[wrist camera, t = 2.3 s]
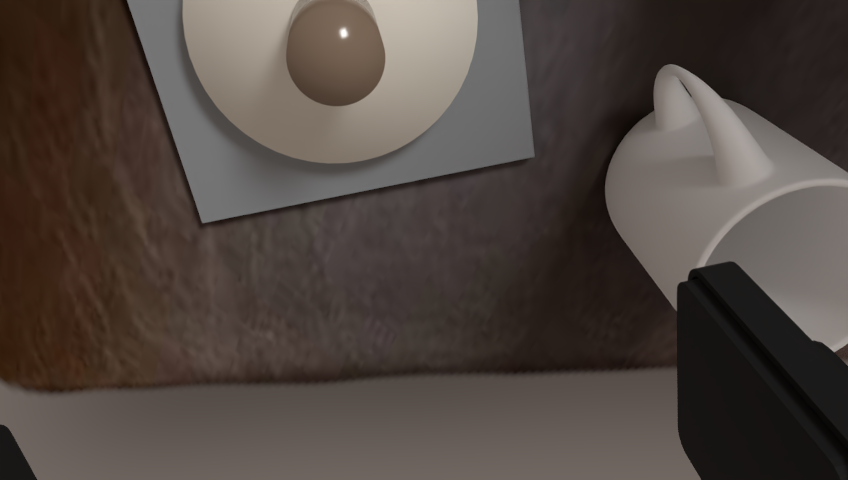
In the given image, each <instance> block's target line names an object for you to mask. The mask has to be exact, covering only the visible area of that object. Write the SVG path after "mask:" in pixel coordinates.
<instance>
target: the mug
mask: <svg viewBox="0 0 848 480" xmlns="http://www.w3.org/2000/svg"><path fill="white" fill-rule="evenodd" d="M680 80H681V82H682V83H683V84H684V85H685V87H686V88H687V90H688V91H689V93H690V94H691V96H692V97H690V95H689V94H688V92H687V91H686V89H685V88H684V86H683V85H682V83H681V82H680ZM653 95H654V111H653V112H651V113H650V114H648V115H647V116H646V117H644V118H643V119H641V120H640V121H639V122H638V123H637V124H636V125H635V126H634V127H633V128H632V129H631V130H630V131H629V132H628V133H627V134H626V135H625V137H624V138H623V140H622V141H621V142H620V144H619V146H618V147H617V149H616V151H615V153H614V155H613V157H612V159H611V162H610V164H609V168H608V171H607V175H606V182H605V199H606V205H607V209H608V212H609V215H610V218H611V220H612V222H613V224H614V226H615V228H616V230H617V232H618V233H619V234H620V236H621V237H622V239H623V240H624V241H625V243H626V244H627V245H628V247H629V248H630V250H631V251H632V252H633V254H634V255H635V256H636V258H637V259H638V260H639V262H640V263H641V264H642V266H643V267H644V268H645V270H646V271H647V272H648V274H649V275H650V276H651V278H652V279H653V280H654V282H655V283H656V284H657V286H658V287H659V288H660V290H661V291H662V292H663V294H664V295H665V297H666V298H667V299H668V301H669V302H670V303H671V305H672V306H673V307H674V309H675V310H676V311H677V286H678V284H679V283H680V282H684V281H688V275H689V272H690V271H691V270H692V269H695V268H700V267H705V266H709V265H714V264H719V263H724V262H728V261H732V262H735V263H736V264H737V265H739V266H740V267H741V268H742V269H743V270H744V271H745V272H746V273H747V274H748V275H749V277H750V278H751V279H752V280H753V281H754V282H755V283H756V284H757V285H758V286H759V287H760V288H761V289H762V290H763V291H764V292H765V293H766V294H767V295H768V296H769V297H770V298H771V299H772V300H773V301H774V302H775V303H776V304H777V305H778V306H779V307H780V308H781V309H782V310H783V311H784V312H785V313H786V314H787V315H788V316H789V317H790V318H791V319H792V320H793V321H794V322H795V323H796V324H797V325H798V326H799V328H800V329H801V330H802V331H803V332H804V333H805V334H806V335H807V336H808V337H809V338H810V339H811V340H812V341H813V340H815V341H818V342H822V343H823V344H825V345H826V346H827V347H829V348H830V349H831V350H832V351H833V352H835V351H837V350H839V349H840V348H842V347H843V346H845V345H846V344H848V172H846V171H844V170H843V169H841V168H840V167H838V166H837V165H835V164H834V163H832V162H831V161H829V160H828V159H826V158H824V157H823V156H821V155H820V154H818V153H817V152H815V151H814V150H812V149H811V148H809V147H808V146H806V145H804V144H803V143H801V142H800V141H798V140H797V139H795V138H794V137H792V136H791V135H789V134H788V133H786V132H784V131H783V130H781V129H780V128H778V127H777V126H775V125H774V124H772V123H771V122H769V121H768V120H766V119H764V118H763V117H761V116H760V115H758V114H757V113H755V112H753V111H752V110H750V109H748V108H747V107H745V106H743V105H741V104H738V103H736V102H734V101H731V100H727V99H723V98H721V97H720V96H719V95H718V94H717V93H716V92H715V91H714V90H713V89H712V88H710V87H709V86H708V85H707V84H706V83H705V82H703V81H702V80H701V79H699V78H698V77H697V76H695V75H694V74H692V73H690V72H689V71H687V70H685V69H683V68H681V67H679V66H677V65H673V64H669V65H665V66H664V67H662V68H661V69H660V71H659V72H658V74H657V76H656V79H655V84H654V93H653Z"/></svg>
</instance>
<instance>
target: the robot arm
mask: <svg viewBox="0 0 848 480" xmlns="http://www.w3.org/2000/svg"><path fill="white" fill-rule="evenodd" d="M677 375H678V376H677V378H678V380H677V381H678V382H677V383H678V432H679V437H680V440H681V444H682V446H683V449H684V451H685V453H686V454H687V456H688V458H689V460H690V461H691V463H692V465H693V466H694V468H695V470H696V471H697V473H698V475H699V476H700V478H701V480H848V366H847V365H846V364H845V363H844V362H843V361H842V360H841V359H840V358H839V357H838V356H837V355H836V354H835V353H834V352H833V351H832V350H831V349H830V348H829V347H827V346H826V345H825V344H823V343H822V342H818V341H815V340H813V341H812V340H811V339H810V338H809V337H808V336H807V335H806V334H805V333H804V332H803V331H802V330H801V329H800V328H799V326H798V325H797V324H796V323H795V322H794V321H793V320H792V319H791V318H790V317H789V316H788V315H787V314H786V313H785V312H784V311H783V310H782V309H781V308H780V307H779V306H778V305H777V304H776V303H775V302H774V301H773V300H772V299H771V298H770V297H769V296H768V295H767V294H766V293H765V292H764V291H763V290H762V289H761V288H760V287H759V286H758V285H757V284H756V283H755V282H754V281H753V280H752V279H751V278H750V277H749V275H748V274H747V273H746V272H745V271H744V270H743V269H742V268H741V267H740V266H739V265H737V264H736V263H735V262H732V261H728V262H724V263H719V264H714V265H709V266H705V267H700V268H695V269H692V270H691V271H690V272H689V275H688V281H684V282H680V283H679V284H678V286H677ZM0 480H37V479H36V477H35V475H34V473H33V472H32V470H31V468H30V466H29V464H28V462H27V461H26V459H25V457H24V455H23V453H22V451H21V450H20V448H19V446H18V444H17V442H16V441H15V439H14V437H13V435H12V433H11V432H10V430H9V429H8V428H7V427H6V426H4V425H0Z"/></svg>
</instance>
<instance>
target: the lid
mask: <svg viewBox="0 0 848 480" xmlns="http://www.w3.org/2000/svg"><path fill="white" fill-rule="evenodd" d="M182 17H183V26H184V35H185V40H186V44H187V48H188V52H189V56H190V59H191V61H192V64H193V67H194V69H195V72H196V74H197V76H198V78H199V80H200V82H201V84H202V85H203V87H204V89H205V91H206V92H207V94H208V95H209V97H210V98H211V99H212V101H213V102H214V104H215V105H216V106H217V108H218V109H219V110H220V111H221V112H222V113H223V114H224V115H225V116H226V117H227V119H228V120H229V121H230V122H232V123H233V124H234V125H235V126H236V127H237V128H239V129H240V130H241V131H242V132H243V133H245V134H246V135H248V136H249V137H251V138H252V139H254V140H255V141H257V142H258V143H260V144H262V145H264V146H266V147H268V148H270V149H272V150H274V151H276V152H278V153H281V154H284V155H287V156H290V157H292V158H297V159H301V160H305V161H310V162H318V163H351V162H358V161H364V160H368V159H372V158H375V157H379V156H382V155H384V154H387V153H389V152H392V151H394V150H397V149H399V148H400V147H402V146H404V145H406V144H408V143H409V142H411V141H413V140H414V139H415V138H417V137H418V136H419V135H421V134H422V133H424V132H425V131H426V130H427V129H428V128H429V127H430V126H432V125H433V124H434V123H435V122H436V121H437V120H438V119H439V118H440V117H441V115H442V114H443V113H444V112H445V111H446V109H447V108H448V107H449V106H450V104H451V103H452V101H453V100H454V98H455V97H456V95H457V93H458V92H459V90H460V88H461V86H462V84H463V82H464V80H465V78H466V75H467V73H468V70H469V67H470V64H471V61H472V58H473V54H474V49H475V44H476V39H477V25H478V13H477V0H183V16H182Z"/></svg>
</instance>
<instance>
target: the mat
mask: <svg viewBox="0 0 848 480" xmlns="http://www.w3.org/2000/svg"><path fill="white" fill-rule="evenodd" d="M127 2H128V5H129V8H130V11H131V14H132V16H133V19H134V22H135V25H136V28H137V31H138V34H139V37H140V40H141V43H142V46H143V49H144V52H145V55H146V58H147V61H148V64H149V67H150V70H151V73H152V76H153V79H154V82H155V85H156V88H157V90H158V93H159V96H160V99H161V102H162V105H163V108H164V111H165V114H166V117H167V120H168V123H169V126H170V129H171V132H172V135H173V138H174V141H175V144H176V147H177V150H178V153H179V156H180V159H181V162H182V165H183V167H184V170H185V173H186V176H187V179H188V182H189V185H190V188H191V191H192V194H193V197H194V200H195V203H196V206H197V209H198V212H199V215H200V218H201V221H202V223H206V222H211V221H216V220H221V219H226V218H231V217H236V216H241V215H246V214H251V213H256V212H261V211H266V210H271V209H276V208H281V207H286V206H291V205H296V204H301V203H306V202H311V201H316V200H321V199H326V198H331V197H336V196H341V195H346V194H351V193H356V192H361V191H366V190H371V189H376V188H381V187H386V186H391V185H396V184H401V183H406V182H411V181H416V180H421V179H426V178H431V177H436V176H441V175H446V174H451V173H456V172H461V171H466V170H471V169H476V168H481V167H486V166H491V165H496V164H501V163H506V162H511V161H516V160H521V159H526V158H531V157H535V155H534V145H533V135H532V126H531V116H530V106H529V96H528V86H527V76H526V66H525V56H524V46H523V36H522V26H521V16H520V6H519V0H477V13H478V25H477V39H476V44H475V49H474V54H473V58H472V61H471V64H470V67H469V70H468V73H467V75H466V78H465V80H464V82H463V84H462V86H461V88H460V90H459V92H458V93H457V95H456V97H455V98H454V100H453V101H452V103H451V104H450V106H449V107H448V108H447V109H446V111H445V112H444V113H443V114H442V115H441V117H440V118H439V119H438V120H437V121H436V122H435V123H434V124H433V125H432V126H430V127H429V128H428V129H427V130H426V131H425V132H424V133H422V134H421V135H419V136H418V137H417V138H415V139H414V140H413V141H411V142H409V143H408V144H406V145H404V146H402V147H400V148H399V149H397V150H394V151H392V152H389V153H387V154H384V155H382V156H379V157H375V158H372V159H368V160H364V161H358V162H351V163H318V162H310V161H305V160H301V159H297V158H292V157H290V156H287V155H284V154H281V153H278V152H276V151H274V150H272V149H270V148H268V147H266V146H264V145H262V144H260V143H258V142H257V141H255V140H254V139H252V138H251V137H249V136H248V135H246V134H245V133H243V132H242V131H241V130H240V129H239V128H237V127H236V126H235V125H234V124H233V123H232V122H230V121H229V120H228V119H227V117H226V116H225V115H224V114H223V113H222V112H221V111H220V110H219V109H218V108H217V106H216V105H215V104H214V102H213V101H212V99H211V98H210V97H209V95H208V94H207V92H206V91H205V89H204V87H203V85H202V84H201V82H200V80H199V78H198V76H197V74H196V72H195V69H194V67H193V64H192V61H191V59H190V56H189V52H188V48H187V44H186V40H185V35H184V26H183V17H182V16H183V0H127Z"/></svg>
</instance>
